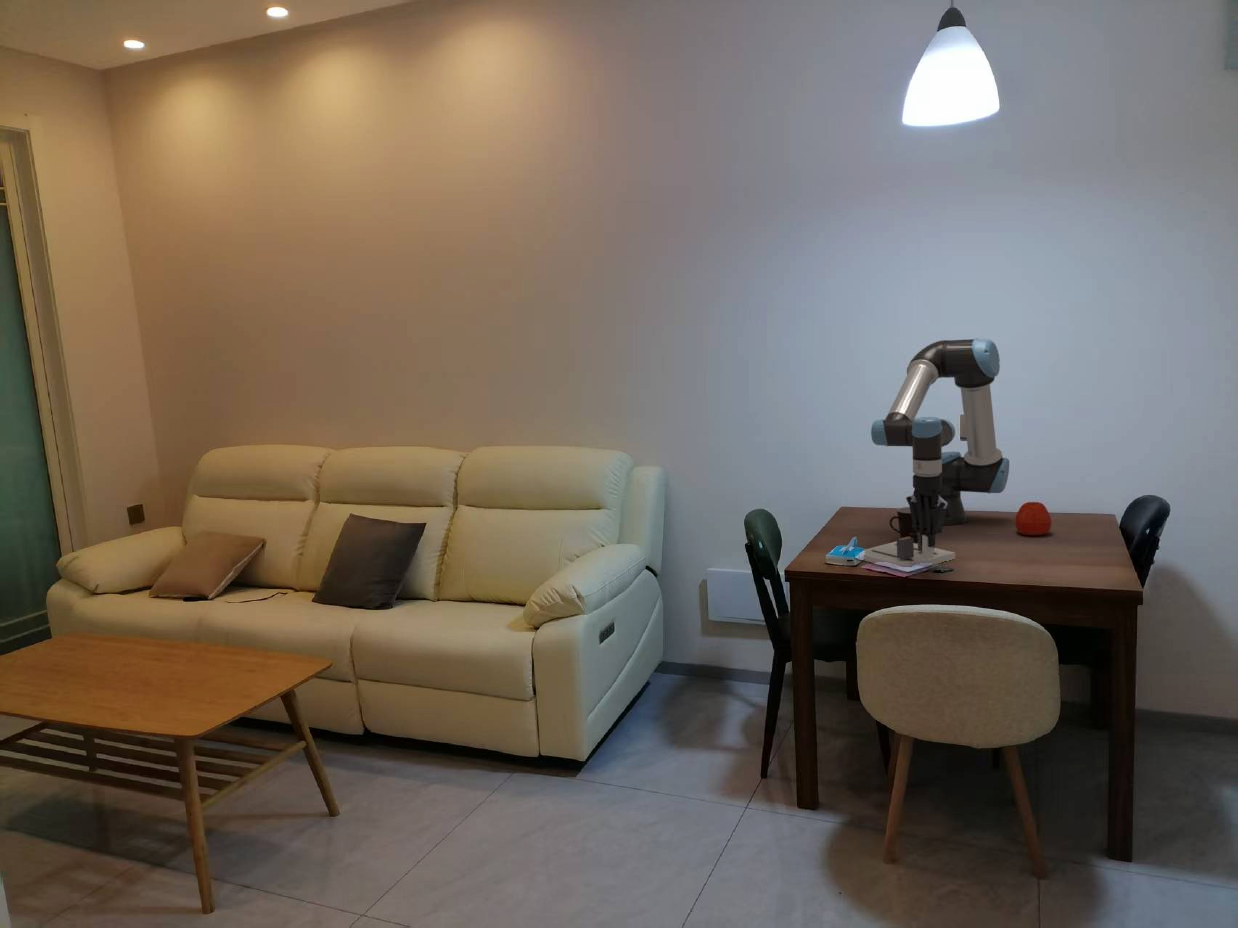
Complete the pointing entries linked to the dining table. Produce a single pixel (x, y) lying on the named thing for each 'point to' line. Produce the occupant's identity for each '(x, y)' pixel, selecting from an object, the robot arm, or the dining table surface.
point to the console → (890, 555)
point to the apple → (1033, 519)
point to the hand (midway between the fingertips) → (927, 557)
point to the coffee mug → (905, 524)
